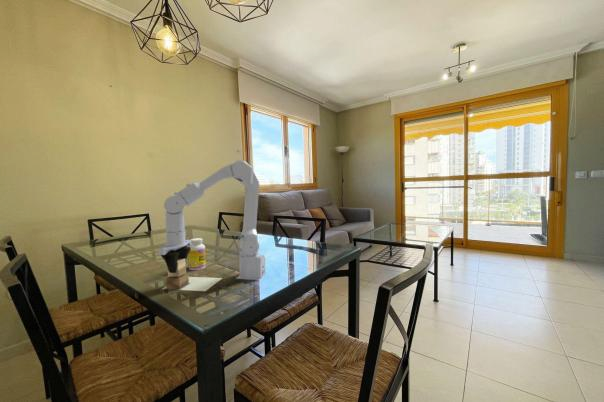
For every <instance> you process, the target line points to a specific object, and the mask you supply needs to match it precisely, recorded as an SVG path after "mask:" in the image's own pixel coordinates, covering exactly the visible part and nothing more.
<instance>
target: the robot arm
mask: <svg viewBox="0 0 604 402" xmlns="http://www.w3.org/2000/svg"><path fill="white" fill-rule="evenodd" d="M232 178H233V179H235V180H237V181H239V182H240V184H242V185H243V186H244V188H245V192H244V193H245V194H244V195H245V196H244V211H243V224H242V231H241V235H240V238H238V239H239V240H238V242H237V243H238V247H239V248H240V249H241V250H240V251H239V253H238V254H239V255H238V258H239V262H238V263H239V275H238V276H237V277H235V279H236V280H239V279H240V280H241V279H242V280H251V281H253V280H254V281H255V280H257V281H260V280H261V279H262V278H263V277H264V276H265V275H266V274H267V272H266V256H265V255H264V253H263V254H262V253H259V250H260V243H259V240H258V233H257V222H258V221H257V220H258V210H259V209H258V206H259V193H260V181H259V179H258V178H257V176H256V173H255V172H254V169H253V167H252V166H251V165H250V164H249V163H248V162H247V161H246V160H243V159H238V160H236V161H235V162H233V163H230V164H228V165H225V166H223V167H221V168H220V169H218V170H216V171H215V172H214V173H212V174H211V175H210V176H208V177H206V178H205V179H203V180H202V181H201V182H199V183H198V182H189V183H187V184H186V186H185V187H184V188H182V189H181V190H179V191H175V192H173V194H174V195H170V196H168V197H167V198H166V199H165V201H164V204H163V208H164V210H165V238H166V239H165V240H166V243H164V244H163V246H162V247H159V248H158V249H157V252H158V256H161V258H162V259H163V260H164V262H165V264H166V266H167V271H168V270H169V272H170V273H176V270H177V260H178V259H185V261H186V262H187V259H188V257H189V252H190V250H191V247H189V246H190V245H191V239H186V230H185V229H186V227H185V217H184V210H183V209H184V208H185V207H188V206H189V207H190V205H192V204H193V203H195V202H196V201H198V200H199V199H201V198H202V197H204V195H205V191H206V190H208V189H209V188H211V187H212V186H214V185H216V184H218V183H219V182H220V181H222V180H224V179H232Z"/></svg>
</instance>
